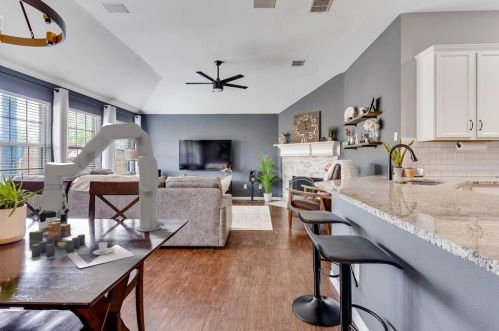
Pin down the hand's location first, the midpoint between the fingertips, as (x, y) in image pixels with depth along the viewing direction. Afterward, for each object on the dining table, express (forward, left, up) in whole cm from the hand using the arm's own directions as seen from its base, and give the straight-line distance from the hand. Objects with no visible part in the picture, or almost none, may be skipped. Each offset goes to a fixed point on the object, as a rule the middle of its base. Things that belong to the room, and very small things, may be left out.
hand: (53, 222), depth 134 cm
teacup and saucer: (-35, +26, -8) cm, 44 cm away
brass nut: (-15, +17, -8) cm, 24 cm away
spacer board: (-15, +19, -9) cm, 25 cm away
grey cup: (+12, -24, -9) cm, 29 cm away
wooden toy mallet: (-1, +2, -8) cm, 9 cm away
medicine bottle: (+8, -11, -9) cm, 17 cm away
